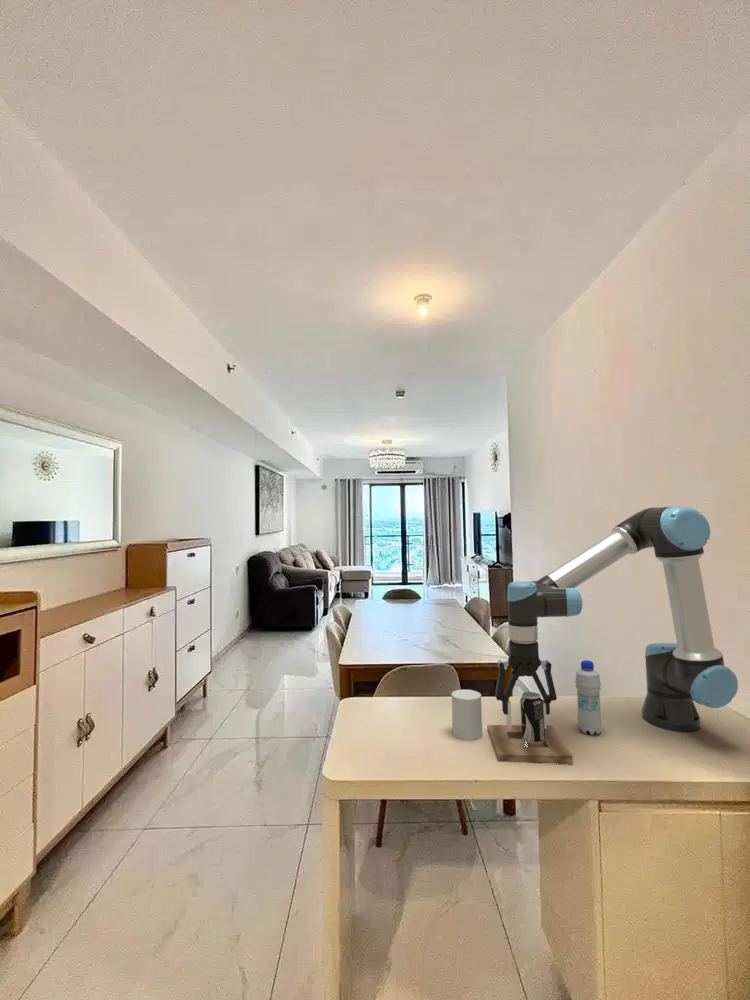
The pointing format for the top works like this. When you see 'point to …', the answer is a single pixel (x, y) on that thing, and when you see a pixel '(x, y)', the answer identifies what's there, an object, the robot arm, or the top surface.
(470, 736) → the cup
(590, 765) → the top surface
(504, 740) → the socket block
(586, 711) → the bottle
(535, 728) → the beverage can
